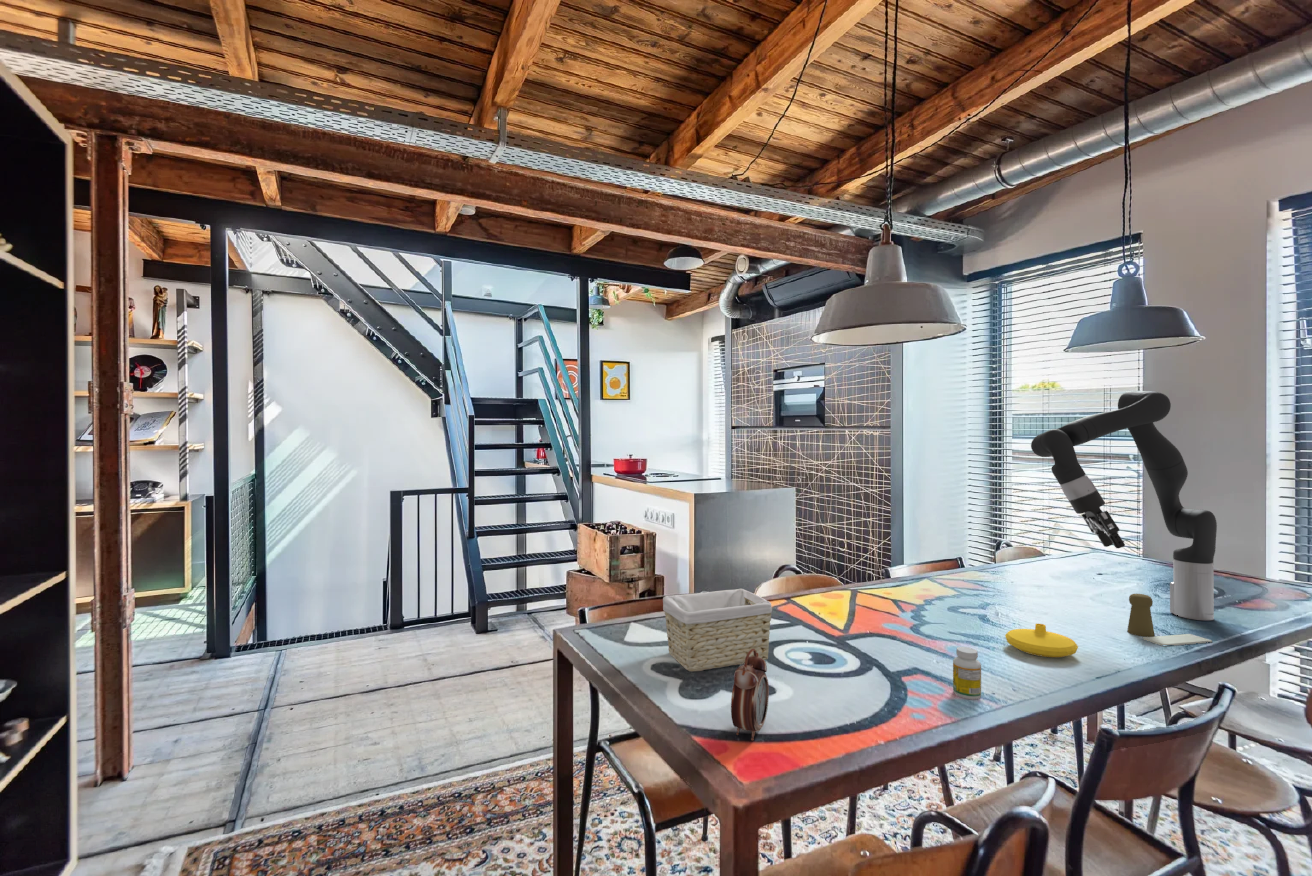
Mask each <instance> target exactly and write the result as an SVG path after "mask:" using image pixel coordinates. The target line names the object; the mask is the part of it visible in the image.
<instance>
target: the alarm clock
mask: <svg viewBox="0 0 1312 876" xmlns="http://www.w3.org/2000/svg"><path fill="white" fill-rule="evenodd" d="M752 652H754V656H750V654H751V653H752ZM758 655H759V654H758V653H756V650H755V649H751V650H750V651H749V652H748V654H747V656H746V658H745V662H744V664H741V665H739V666H738V667H737V668H736V669H735V671H734V674H733V681H734V682H733V686H732V691H731V692H732V693H731V700H730V701H731V703H730V714H731V721H732V724H733V726H734V727H735V728H737V729H736V735H737V736H738V735H740V734H739V732H740V730H743V731H746V732H747V731H748V732H751V738H750V740H751V742H752V741H754V740H755V739H754V737H755V734H756V732H760V731H761V730H762V728H763V726H764V724H765V722H766V718H767V712H768V707H769V696H770V693H769V692H770V691H769V689H770V687H769V686H770V685H769V680H768V677H767V674H766V673H767V671H768V668H767V663H766V660H763V659H762V658H760V657H758ZM749 656H750V657H749Z"/></svg>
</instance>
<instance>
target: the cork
mask: <svg viewBox="0 0 1312 876" xmlns="http://www.w3.org/2000/svg"><path fill="white" fill-rule="evenodd" d="M1128 602H1129V604H1130V605H1131V606H1130V613H1129V618H1128V625H1127V633H1128V634H1131V635H1134V636H1138V637H1142V638H1143V637H1156V636H1155V628H1154V624H1153V617H1152V612H1151V607H1153V603H1154V602H1153V599H1152V597H1151V596H1150V595H1147V594H1144V593H1132V594H1130V595H1129V597H1128Z"/></svg>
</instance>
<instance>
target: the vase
mask: <svg viewBox="0 0 1312 876" xmlns="http://www.w3.org/2000/svg"><path fill="white" fill-rule="evenodd" d="M1004 636H1005V640H1006V642H1007V643H1008V644H1009V645H1011V646H1012V647H1014V648H1015V649H1016V650H1019V651H1021V652H1024V653H1026V654H1029V655H1033V656H1038V657H1042V658H1063V657H1064V658H1065V657H1069V656H1072V655H1075V654H1076V653H1077V651H1078V649H1079V645H1078V644H1077V643H1076V641H1074V640H1073V639H1071V638H1070V637H1068V636H1065V635H1063V634H1061V633H1060V634H1059V633H1056V632H1052V631H1048V630H1047V625H1046V624H1043V623H1035V627H1034V629H1033V628H1014V629H1011V630H1009V631H1007V632H1006V633H1005V635H1004Z"/></svg>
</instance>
